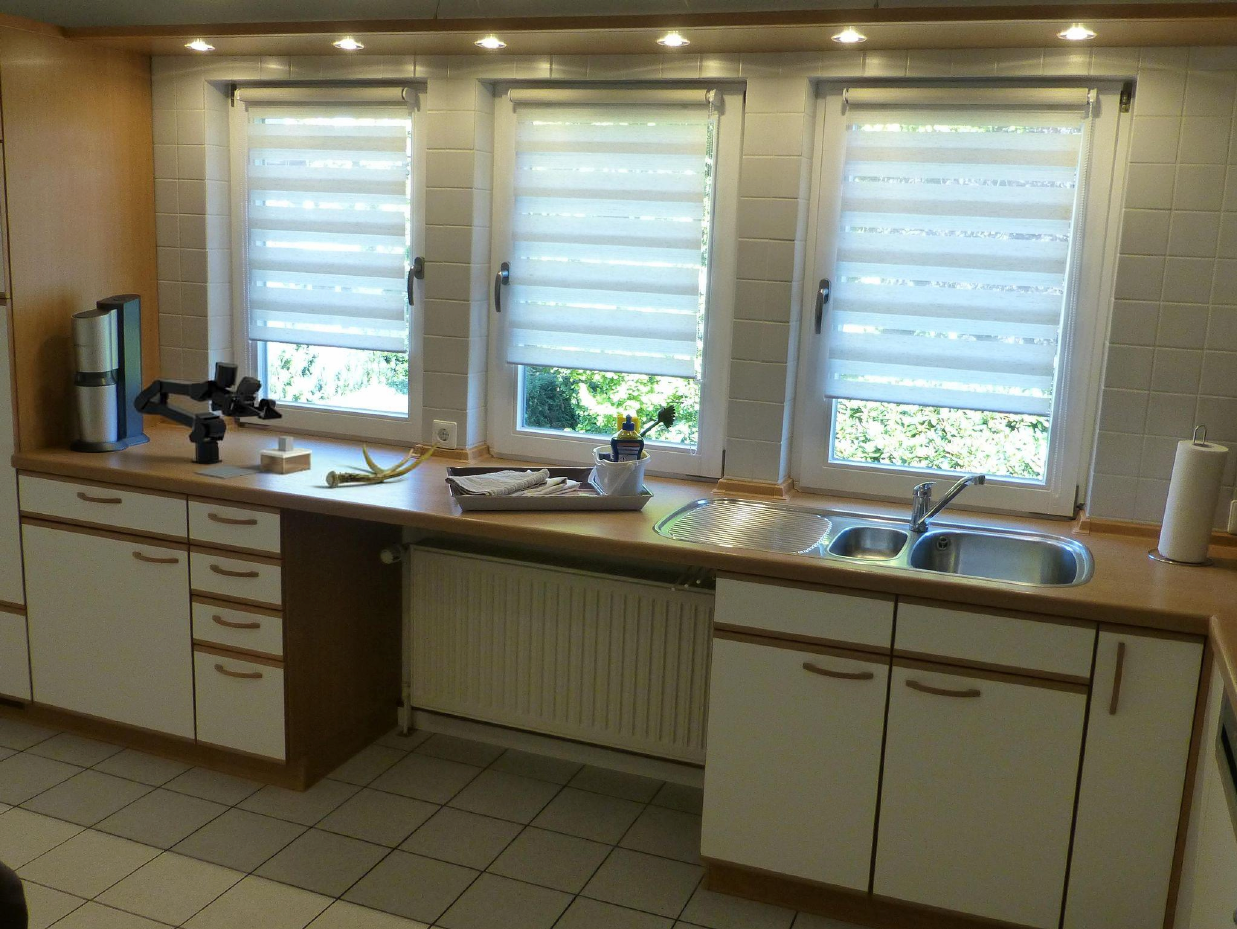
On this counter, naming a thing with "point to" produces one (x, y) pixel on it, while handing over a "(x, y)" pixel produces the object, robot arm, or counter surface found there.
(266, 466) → the crate
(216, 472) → the mat
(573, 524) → the counter surface
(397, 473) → the antler
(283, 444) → the lid
